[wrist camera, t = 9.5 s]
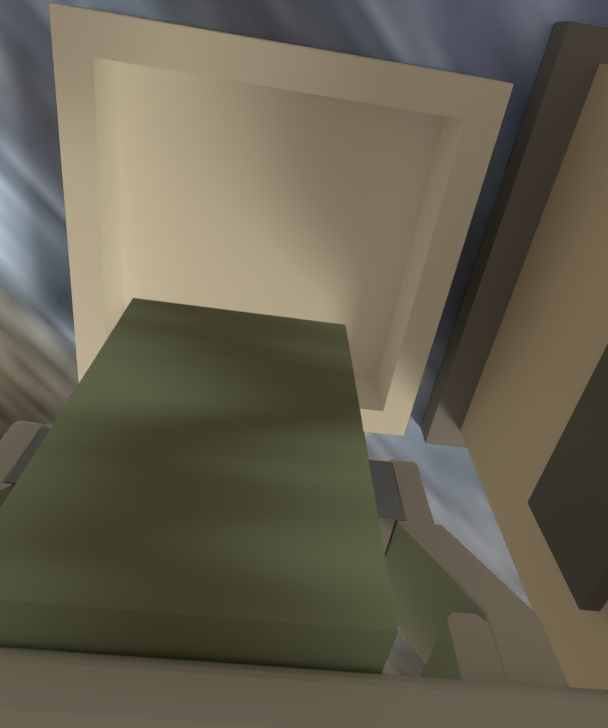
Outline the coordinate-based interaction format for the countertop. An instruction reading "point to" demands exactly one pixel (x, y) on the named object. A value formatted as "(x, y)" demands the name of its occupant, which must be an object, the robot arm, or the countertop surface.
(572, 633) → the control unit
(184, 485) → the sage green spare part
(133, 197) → the parts tray
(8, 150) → the countertop surface
